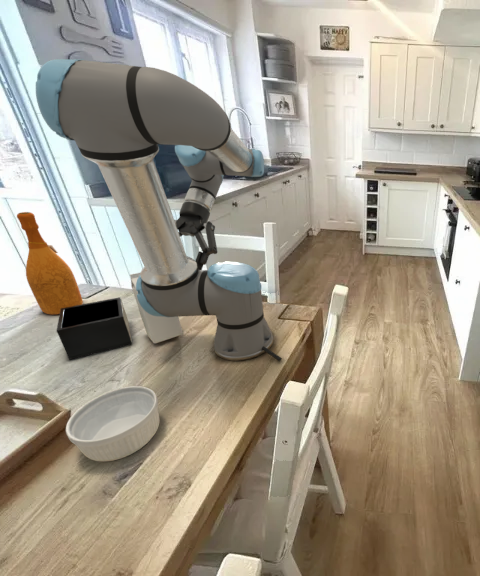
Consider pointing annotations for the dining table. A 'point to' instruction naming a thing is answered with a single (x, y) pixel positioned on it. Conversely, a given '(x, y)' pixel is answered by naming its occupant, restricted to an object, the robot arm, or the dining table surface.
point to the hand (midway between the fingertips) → (172, 271)
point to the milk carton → (157, 320)
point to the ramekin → (115, 423)
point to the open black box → (93, 328)
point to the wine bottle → (47, 271)
